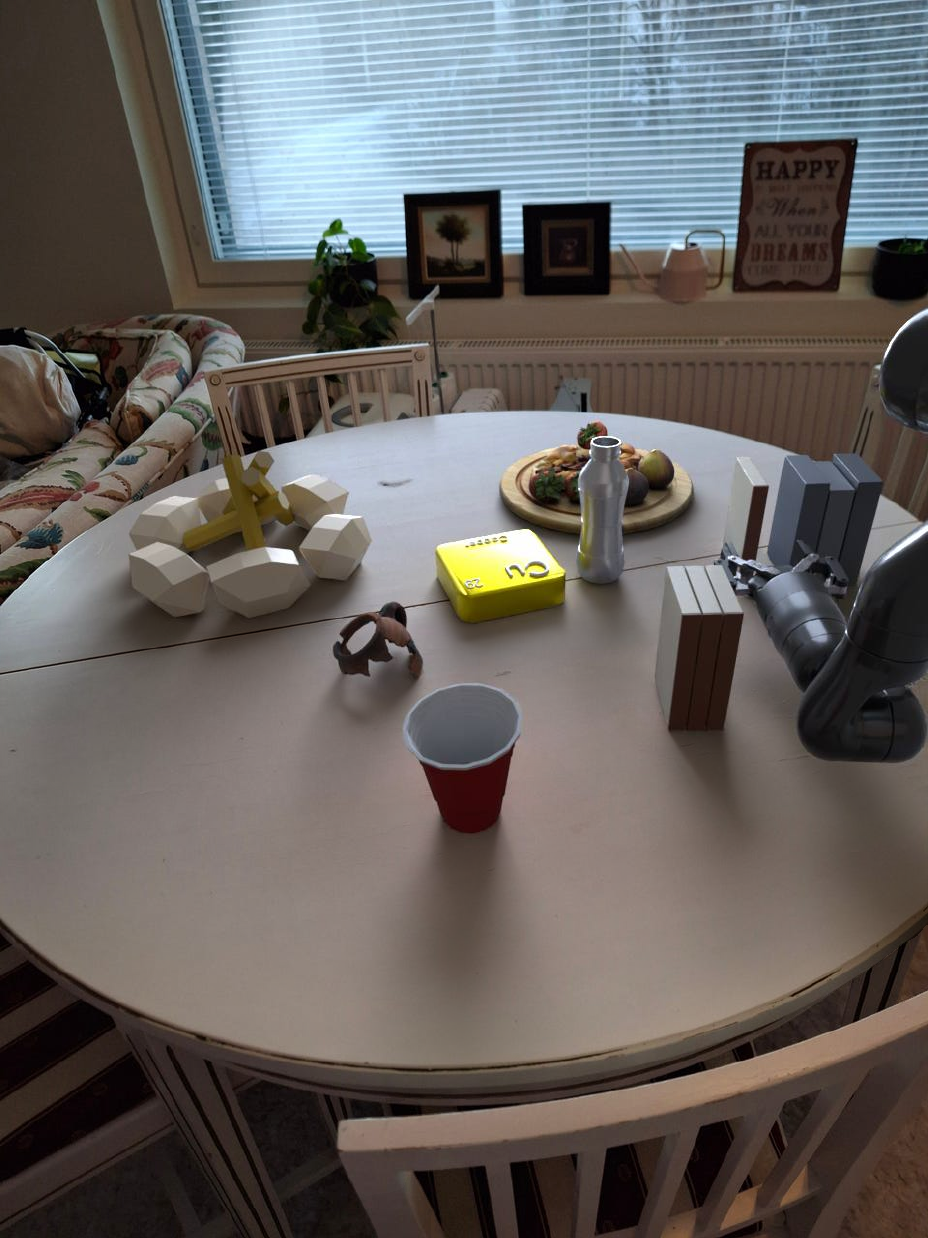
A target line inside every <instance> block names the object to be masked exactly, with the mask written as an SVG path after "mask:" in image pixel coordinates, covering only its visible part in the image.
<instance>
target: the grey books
mask: <svg viewBox="0 0 928 1238" xmlns="http://www.w3.org/2000/svg"><path fill="white" fill-rule="evenodd" d="M883 487H884V480H883V479H882V478H881V477H880V476H879V475H878V474H877V472H875V471H874V470H873V469H872V467H870V465H869V464H868V463H867V462H866V461H865V460H864V459H863V458H862V457H861V456H860V455H859V454H858V453H857V452H853V453H851V452H849V453H834V454H833V457H832V461H830V460H824V461H822V460H821V461H813V459H812V458H811V457H810V456H809V455H808V454H793V455H792V454H791V455H790V454H789V455H784V459H783V465H782V469H781V475H780V481H779V486H778V492H777V497H776V501H775V508H774V513H773V517H772V524H771V528H770V535H769V539H768V545H767V552H766V555H767V556H768V558H769V560H770V562H771V563H772V566H784V565H791V566H792V567H795V566H797V565H798V562H797V561H796V559H795V557H794V556H793V550H794V545H795V541H796V540H803V542H804V543H805V544H807V545H809V546H810V547H811V549H812V550H813V552H814V553H815V554H818V555H819V558H824V559H826V556H834V557H836V558H837V560H838V561H839V563H840V565H841V567H842V568H843V570H844V572H845V574H846V575H847V577H848V579H849V582H848V586H851V585H853V586H854V585H857V584H858V580H859V576H860V572H861V570H862V566H863V562H864V558H865V554H866V550H867V547H868V543H869V539H870V535H871V532H872V527H873V523H874V519H875V516H876V512H877V508H878V505H879V501H880V498H881V493H882V490H883ZM815 576H816V577H818V578H820V579H821V580H822V581H823V583H824V582H825V580H824V578H823V576H822V574H821V573H816V574H815Z"/></svg>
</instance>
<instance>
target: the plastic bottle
mask: <svg viewBox="0 0 928 1238" xmlns="http://www.w3.org/2000/svg"><path fill="white" fill-rule="evenodd" d="M621 443H622V442H621V440H620V439H619V438H617V437H614V436H608V437H607V436H603V437H597V438H594V439H592V441H591V449H590V453H589V455H590V457H591V459H590V461H589V462H588V463H587V464H586V465H585V466H584V468H583V469H582V470H581V472H580V475H579V478H578V488H579V495H580V503H581V517H582V518H581V533H580V534H579V542H578V544H579V545H578V547H577V551H576V556H575V564H576V565H575V566H576V571H577V573H578V574H579V576H580V577H581V578H582V579H583V580H585V581H587V582H589V583H593V584H609V583H612V582H615V581H617V580H618V579H619V577H620V576H621V575H622V574H623V572H624V568H625V563H626V560H625V552H624V546H623V545H624V544H623V534H622V521H623V520H622V518H623V512H624V505H625V500H626V495H627V491H628V486H629V478H628V474H627V472H626V470H625V468H624V467H623V465H622V464H621V463H620V461H619V460H618V458H619V457H620V456H621V451H620V446H621Z"/></svg>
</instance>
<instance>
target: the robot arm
mask: <svg viewBox="0 0 928 1238" xmlns="http://www.w3.org/2000/svg"><path fill="white" fill-rule="evenodd" d="M878 391H879V392H878V393H879V396H880V400H881V402H882V405H883V407H884V409H885V411H886V412H887V414H888V415H889V416H890V417H891V418H892V419H894V420H895V422H897V423H899V424H900V425H902V426H904V427H906V428H909V429H912V430H914V431H917V432H919V433H920V432H921V433H923V434H928V306H927V307H925V308H923V309H922V310H920V311H919V312H917V313H915V315H913V316H912V317H911V318H909V319H908V320H907V321H906V322H904V324H903V325H902V326H901V327H900V328H899V329H898V331H896V333H895V335H894V336H893V337H892V338H891V341H890V342H889V344H888V346H887V348H886V350H885V352H884V353H883V356H882V359H881V363H880V367H879V373H878ZM719 556H720V557H719V558H715V559H714V560H713V565H722V567H723V569H724V571H725V573H726V576H727V578H728V580H729V582H730V585H731V587H732V589H733V591H734V593H735V596H736V597H744V596H747V597H748V599H750V600H751V601H753V602H754V604H755V607H756V611H757V613H758V615H759V617H760V619H761V622H762V623H763V626H764V628H765V629H766V632H767V635H768V637H769V639H770V640H771V642H772V644H773V646H774V648H775V650H776V651H777V653H778V654H779V656H780V657H781V658H782V660H783V661H784V662H785V665H786V667H787V668H788V671H789V673H790V676H791V677H792V680H793V682H794V683H795V685H796V686H797V688H798V689H799V691H800V692H802V694H803V695H802V697H801V699H800V702H799V704H798V708H797V712H796V719H795V726H796V727H795V728H796V733H797V737H798V739H799V742H800V744H801V745H802V747H803V749H805V751H806V752H807V753H809V755H811V756H812V757H814V758H816V759H818V760H822V761H827V762H836V763H837V762H840V763H841V762H843V763H873V764H875V763H876V764H899V763H904V762H907V761H909V760H912V759H913V758H915V757H916V756H917V755H918V754H919V753H920V752H921V751H922V749H923V747H924V746H925V744H926V739H927V736H928V735H927V734H928V723H927V718H926V714H925V711H924V708H923V705H922V704H921V702H920V701H919V699H918V698H917V696H916V694H915V693H914V692H913V691H912V689H911V688H910V687H909V686H908V685H911V684H914V683H916V682H918V681H920V680H922V679H923V678H924V676H925V675H926V674H927V673H928V519H927V520H924V522H922V523H921V524H920V525H918V526H917V527H916V528H914V529H913V530H912V531H910V532H909V533H907V534H906V535H904V536H903V537H902V538H900V539H899V540H897V541H896V542H895V543H894V544H893V545H891V546H890V547H889V548H887V549H886V550H885V551H884V552H883V553H881V554H880V555H879V557H878V558H877V559H876V560H875V561H874V562H873V564H871V566H870V568H869V569H868V571H867V572H866V573H865V575H864V577H863V579H862V581H861V582H860V586H859V588H858V590H857V592H856V596H855V599H854V602H853V605H852V608H851V611H850V614H849V618H848V621H847V620H846V617H845V616H844V614H843V612H842V610H841V609H840V607H839V606H838V605H837V603H836V601H837V600H838V601H841V600H842V601H843V600H844V599H845V598H846V593H847V588H848V586H849V585H848V582H849V579H848V577H847V575H846V574H845V572H844V570H843V568H842V567H841V565H840V563H839V561H838V560H837V558H836V557H834V556H826V559H824V558H819V555H818V554H815V553H814V552H813V550H812V549H811V547H810V546H809V545H807V544H805V543H804V542H803V540H796V541H795V545H794V550H793V556H794V557H795V559H796V561H797V562H798V565H797V566H795V567H792V566H791V565H784V566H774V565H764V564H762V563H761V562H758V561H757V560H756V561H754V560H749V561H745V560H743V559H741V558H739V555H738V553H737V551H736V549H735V547H734V545H733V543H732V542H726V543H725V546H723V545H722V546H721V550H720V555H719ZM737 567H739V568H741V573H739V572H737ZM753 571H754V574H753V577H752V573H753ZM816 573H821V574H822V576H823V578H824V580H825V582H824V583H823V581H822V580H821V579H820V578H818V577H816V576H815V574H816ZM834 599H835V600H836V601H835V600H834Z"/></svg>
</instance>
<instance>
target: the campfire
mask: <svg viewBox="0 0 928 1238" xmlns="http://www.w3.org/2000/svg"><path fill="white" fill-rule="evenodd" d="M274 463H275V459H274V458H273V456H272V455H271V454H270V452H268V451H262V450H258V451H257V452H256V454H255V455H254V457H253V458H252V460H251V462H250V463H249V465H248V467H247V468H246V469H245V468H244V464H243V461H242V458H241V455H240V454H229V455H227V456H224V457H222V458H221V464H222V467H223V470H224V473H225V477H223V478H219V479H218V478H217V479H215V480H213V481H212V482H211V483H210V484H209V485H208V486H207V487H205V488H204V489H203V490H202V491H201V492H200V493H199V494H197V496H196V497H187V496H178V495H173V496H170V497H168V498H164V499H162V500H159V501H157V502H155V503H153V504H152V505H150V506H149V507H148V508H146V509H145V510H143V511H142V512H141V513H139V515H138V517H137V518H136V521H135V522H134V524H133V526H131V529H130V530H129V532H128V536H129V538H130V540H131V541H132V542H131V543H132V545H133V546H134V548H135V551H134V552H131V553H128V560H129V569H130V577H131V578H130V579H131V585H132V588H133V589H134V590H135V591H137V592H138V593H140V594H141V595H142V596H143V597H145V598H146V599H147V600H148V601H150V602H152V603H153V604H154V605H155V606H157V607H158V608H160V609H161V610H164V611H165V612H166V613H168V614H169V615H170V616H172V617H174V618H178V617H183V616H189V615H193V614H194V615H195V614H198V613H203V609H204V605H205V600H206V597H207V596H206V595H207V591H208V586H209V582H211V585H212V588H213V590H214V593H215V596H216V598H217V601H218V603H219V604H220V605H222V606H224V607H227V608H228V609H229V610H232V611H234V612H236V613H238V614H240V615H242V616H244V617H246V618H248V619H251V618H255V617H259V616H263V615H267V614H270V613H274V612H275V613H276V612H278V611H282V610H286V609H289V608H290V607H291V606H292V605H293V604H294V603H295V602H296V601H297V600H298V599H299V598H300V597H301V596H302V595H303V593H305V591H306V590H307V589H308V588H309V587H310V586H311V584H310V582H309V579H308V577H307V575H306V574H305V572H304V570H303V568H302V566H301V564H300V562H299V561H298V558H297V557H296V554H295V553H294V551H293V550H292V549H285V548H278V547H270V546H267V544H266V539H265V536H264V534H263V530H262V526H264V525H267V524H269V523H271V522H273V521H277V522H279V523H280V524H282V525H283V526H285V527H287V526H290V524H293V523H295V524H296V525H297V526H298V527H301V528H303V529H305V530H307V531H308V533H307V535H306V537H305V538H304V539H303V541H302V542H301V544H300V545H299V546H298V548H299V552H300V554H301V555H302V557H303V558H304V559H305V561H306V562H307V564H308V565H309V566H310V568H311V569H312V570H313V571H314V573H315V575H316V576H317V577H318V578H322V579H331V580H338V581H339V580H340V581H347V580H348V579H349V578H350V576H351V575H352V574H353V573H354V571H356V569H357V568H358V567H359V565H360V564H361V563H362V561H363V559H364V557H365V555H366V553H367V551H368V550H369V548H370V546H371V543H372V541H373V540H372V537H371V535H370V532H369V529H368V526H367V524H366V520H365V518H364V516H361V515H360V516H357V515H348V514H344V512H345V508H346V504H347V501H348V497H349V494H350V491H349V490H347V489H346V488H344V487H342V486H341V485H339V484H338V483H336V481H335V482H334V481H333V480H331V479H330V478H327V477H325V476H322V475H319V474H317V473H313V474H309V475H305V476H302V477H300V478H297V479H295V480H293V481H290V482H288V483H286V484H283V485H281V486H280V487H281V491H280V490H277V489H276V488H275V487H274V485H273V484H272V483H271V482H270V481H269V480H268V478H267V477H266V475H267V474H268V472H270V469H271V468H272V466H273V464H274ZM200 512H201V513H202V515H203V517H204V519H205V520H206V523H203V524H202V519H201V513H200ZM236 533H237V534H238V533H242V536H243V540H244V544H245V547H246V550H245V551H239V552H237V553H234V554H233V555H230V556H227V557H225V558H222V559H221V560H218V561H216V562H214V563H210V564H209V565H206V568H204V567H203V566H202V565H201V564H200V563H198V562H197V561H196V560H194V558H193V557H191V556H189V555H188V554H190V553H191V552H192V551H193V552H194V551H196V550H199V549H201V548H203V547H207V546H208V545H210V544H213V543H215V542H218V541H219V540H222V539H224V538H226V537H228V536H231V535H233V534H236Z"/></svg>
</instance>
